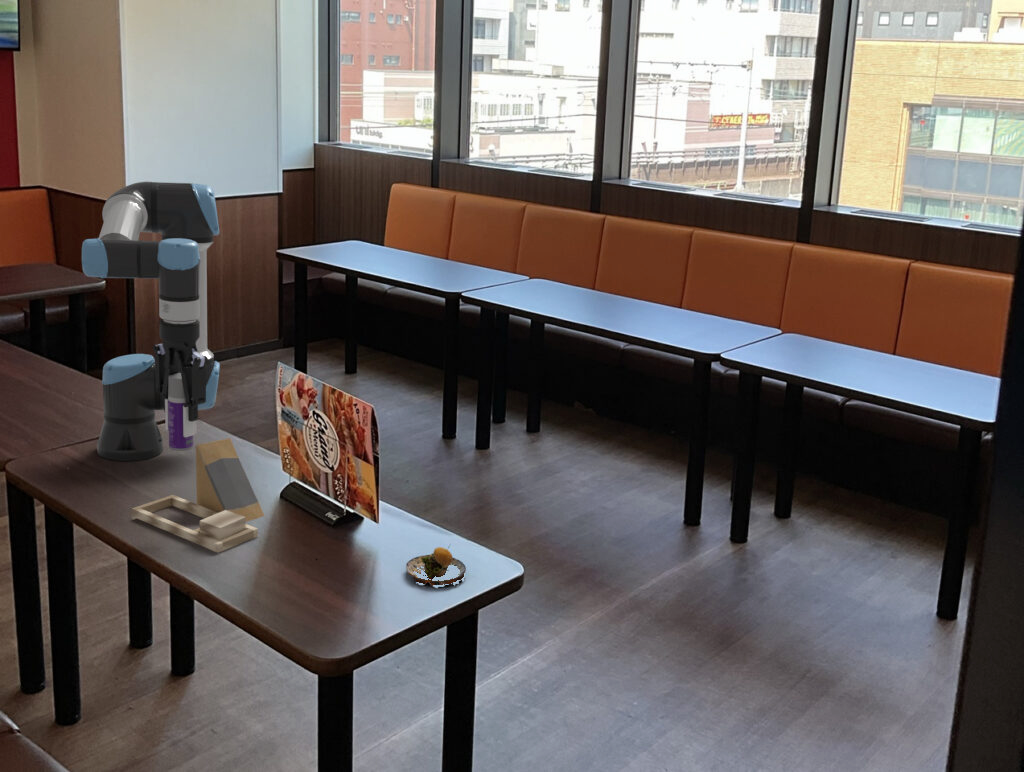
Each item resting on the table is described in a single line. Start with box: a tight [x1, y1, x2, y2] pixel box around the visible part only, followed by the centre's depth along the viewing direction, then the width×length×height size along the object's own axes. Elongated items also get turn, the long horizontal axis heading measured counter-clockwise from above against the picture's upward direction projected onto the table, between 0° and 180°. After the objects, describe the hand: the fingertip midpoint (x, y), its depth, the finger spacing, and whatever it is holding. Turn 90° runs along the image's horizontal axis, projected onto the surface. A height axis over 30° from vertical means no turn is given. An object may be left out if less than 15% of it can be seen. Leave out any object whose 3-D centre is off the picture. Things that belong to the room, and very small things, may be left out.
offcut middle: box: [200, 527, 246, 541], centre depth 215 cm, size 6×7×2 cm
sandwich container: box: [195, 437, 266, 523], centre depth 227 cm, size 9×15×15 cm, turn 46°
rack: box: [131, 494, 259, 554], centre depth 220 cm, size 26×10×3 cm, turn 56°
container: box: [168, 373, 194, 452], centre depth 216 cm, size 5×5×15 cm
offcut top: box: [199, 510, 247, 537], centre depth 215 cm, size 6×7×2 cm
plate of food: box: [406, 544, 467, 587], centre depth 209 cm, size 12×12×8 cm
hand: (181, 431), depth 217 cm, fingers closed on container, 5 cm apart
